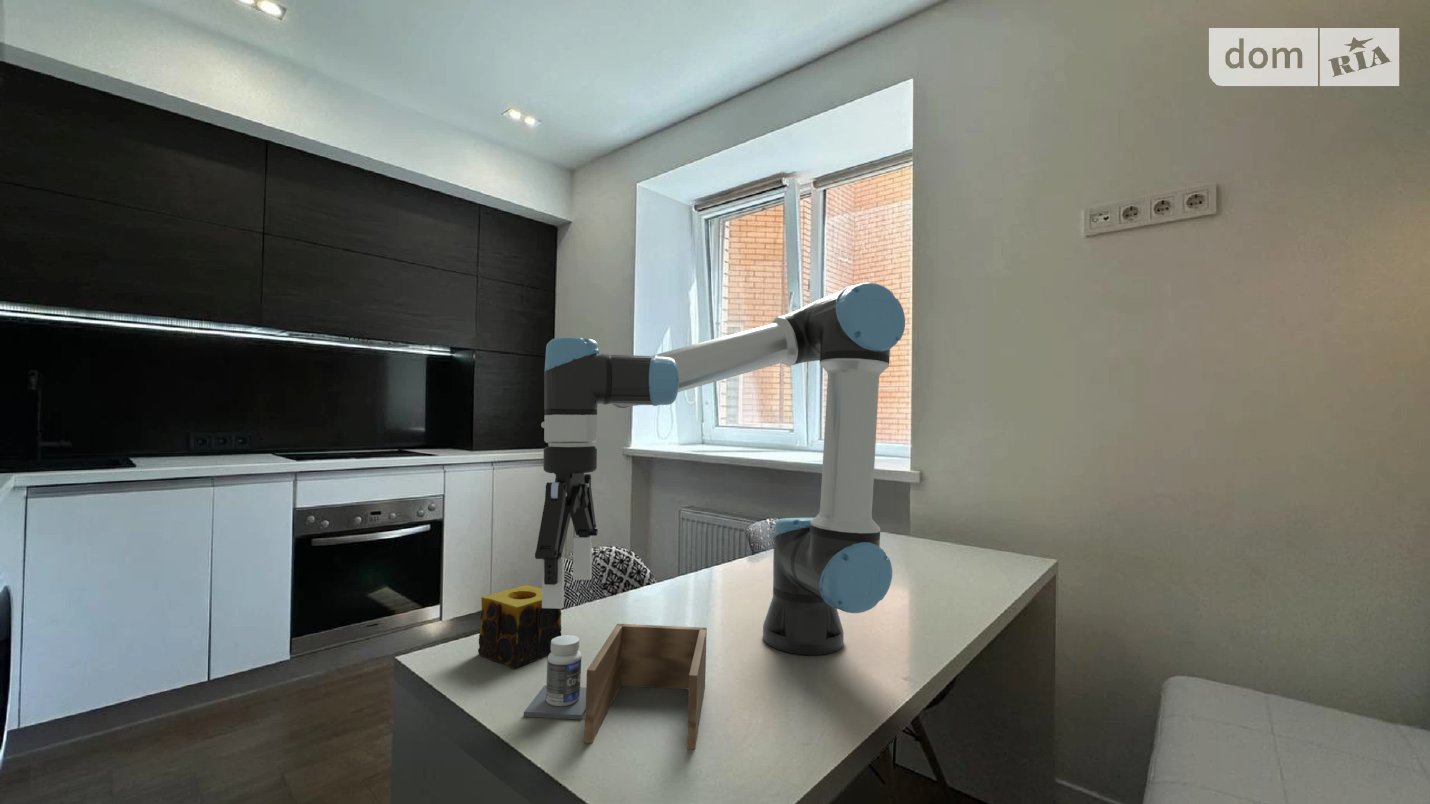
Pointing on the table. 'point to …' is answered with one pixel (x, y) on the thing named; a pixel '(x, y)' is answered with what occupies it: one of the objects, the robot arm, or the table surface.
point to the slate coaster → (556, 707)
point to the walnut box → (647, 669)
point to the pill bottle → (563, 671)
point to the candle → (517, 626)
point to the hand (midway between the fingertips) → (568, 592)
